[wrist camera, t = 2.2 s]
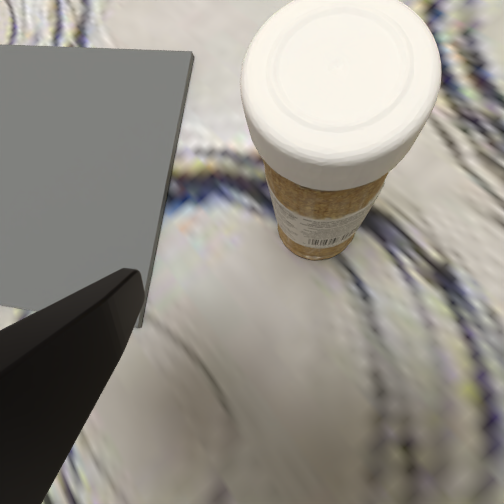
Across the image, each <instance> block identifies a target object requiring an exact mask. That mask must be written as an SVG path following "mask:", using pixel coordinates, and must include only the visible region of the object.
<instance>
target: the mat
mask: <svg viewBox="0 0 504 504" xmlns="http://www.w3.org/2000/svg"><path fill="white" fill-rule="evenodd" d="M193 60H194V56H193V53H192V51H165V50H137V49H109V48H81V47H53V46H25V45H0V305H2V306H8V307H14V308H20V309H27V310H33V311H39V310H41V309H43V308H45V307H47V306H49V305H51V304H53V303H55V302H57V301H59V300H61V299H63V298H65V297H67V296H69V295H71V294H73V293H75V292H77V291H78V290H80V289H82V288H84V287H86V286H88V285H90V284H92V283H94V282H96V281H98V280H100V279H102V278H104V277H106V276H108V275H110V274H112V273H114V272H116V271H118V270H120V269H122V268H131V269H137V270H139V271H140V273H141V276H142V281H143V286H144V291H145V301H144V304H143V306H142V309H141V311H140V314H139V316H138V318H137V321H136V323H135V326H134V327H136V328H141V325H142V320H143V315H144V310H145V305H146V300H147V294H148V289H149V284H150V279H151V274H152V269H153V264H154V259H155V254H156V249H157V243H158V238H159V233H160V228H161V223H162V218H163V213H164V208H165V203H166V197H167V192H168V187H169V182H170V177H171V172H172V167H173V162H174V157H175V152H176V146H177V141H178V136H179V131H180V126H181V121H182V116H183V111H184V106H185V101H186V95H187V90H188V85H189V80H190V75H191V70H192V65H193Z"/></svg>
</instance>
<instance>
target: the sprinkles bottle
mask: <svg viewBox="0 0 504 504" xmlns="http://www.w3.org/2000/svg"><path fill="white" fill-rule="evenodd" d="M440 84H441V61H440V55H439V51H438V48H437V44H436V42H435V39H434V37H433V35H432V33H431V32H430V30H429V28H428V27H427V25H426V24H425V22H424V21H423V20H422V19H421V18H420V17H419V16H418V15H417V14H416V13H415V12H414V11H413V10H412V9H411V8H409V7H408V6H406V5H405V4H403V3H402V2H400V1H398V0H294V1H292V2H290V3H289V4H287V5H286V6H284V7H282V8H281V9H280V10H278V11H277V12H276V13H275V14H273V15H272V16H271V17H270V18H269V19H268V20H267V21H266V22H265V23H264V24H263V26H262V27H261V28H260V29H259V31H258V32H257V33H256V35H255V37H254V38H253V40H252V41H251V43H250V45H249V47H248V50H247V52H246V55H245V57H244V60H243V63H242V71H241V78H240V87H241V98H242V104H243V108H244V112H245V117H246V121H247V124H248V128H249V132H250V135H251V138H252V141H253V143H254V145H255V147H256V149H257V150H258V152H259V154H260V155H261V157H262V158H263V162H264V167H265V175H266V179H267V183H268V187H269V191H270V195H271V199H272V203H273V208H274V212H275V216H276V219H277V222H278V232H279V235H280V238H281V239H282V241H283V243H284V244H285V246H286V247H287V248H289V249H290V250H291V251H292V252H293V253H294V254H296V255H298V256H300V257H303V258H305V259H310V260H322V259H326V258H331V257H334V256H335V255H337V254H339V253H340V252H342V251H343V250H344V249H345V248H346V247H347V245H348V244H349V243H350V242H351V241H352V239H353V237H354V234H355V232H356V231H357V229H358V228H359V226H360V225H361V223H362V221H363V220H364V218H365V217H366V215H367V213H368V212H369V210H370V208H371V207H372V205H373V203H374V202H375V200H376V199H377V197H378V195H379V193H380V192H381V190H382V188H383V186H384V182H385V178H386V176H387V174H388V172H389V171H390V170H392V169H393V168H394V167H395V166H396V165H397V164H398V163H399V162H400V161H401V160H402V159H403V158H404V156H405V155H406V154H407V153H408V151H409V150H410V148H411V147H412V145H413V144H414V142H415V140H416V139H417V137H418V135H419V133H420V132H421V130H422V128H423V126H424V125H425V123H426V121H427V119H428V118H429V116H430V114H431V112H432V110H433V107H434V105H435V102H436V100H437V96H438V93H439V90H440Z"/></svg>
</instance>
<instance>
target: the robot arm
mask: <svg viewBox="0 0 504 504" xmlns="http://www.w3.org/2000/svg"><path fill="white" fill-rule="evenodd" d="M144 301H145V291H144V286H143V281H142V276H141V273H140V271H139V270H137V269H131V268H122V269H120V270H118V271H116V272H114V273H112V274H110V275H108V276H106V277H104V278H102V279H100V280H98V281H96V282H94V283H92V284H90V285H88V286H86V287H84V288H82V289H80V290H78V291H77V292H75V293H73V294H71V295H69V296H67V297H65V298H63V299H61V300H59V301H57V302H55V303H53V304H51V305H49V306H47V307H45V308H43V309H41V310H39V311H37V312H35V313H34V314H32V315H30V316H28V317H26V318H24V319H22V320H20V321H18V322H16V323H14V324H12V325H10V326H8V327H6V328H4V329H2V330H0V504H41V503H42V502H43V500H44V498H45V496H46V494H47V492H48V491H49V489H50V487H51V485H52V483H53V481H54V479H55V478H56V476H57V474H58V472H59V470H60V468H61V467H62V465H63V463H64V461H65V459H66V457H67V456H68V454H69V452H70V450H71V448H72V446H73V445H74V443H75V441H76V439H77V437H78V435H79V434H80V432H81V430H82V428H83V426H84V424H85V423H86V421H87V419H88V417H89V415H90V413H91V412H92V410H93V408H94V406H95V404H96V402H97V400H98V399H99V397H100V395H101V393H102V391H103V389H104V388H105V386H106V384H107V382H108V380H109V378H110V377H111V375H112V373H113V371H114V369H115V367H116V366H117V364H118V362H119V360H120V358H121V356H122V354H123V352H124V350H125V348H126V345H127V343H128V340H129V338H130V336H131V333H132V331H133V328H134V326H135V323H136V321H137V318H138V316H139V314H140V311H141V309H142V306H143V304H144Z"/></svg>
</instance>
